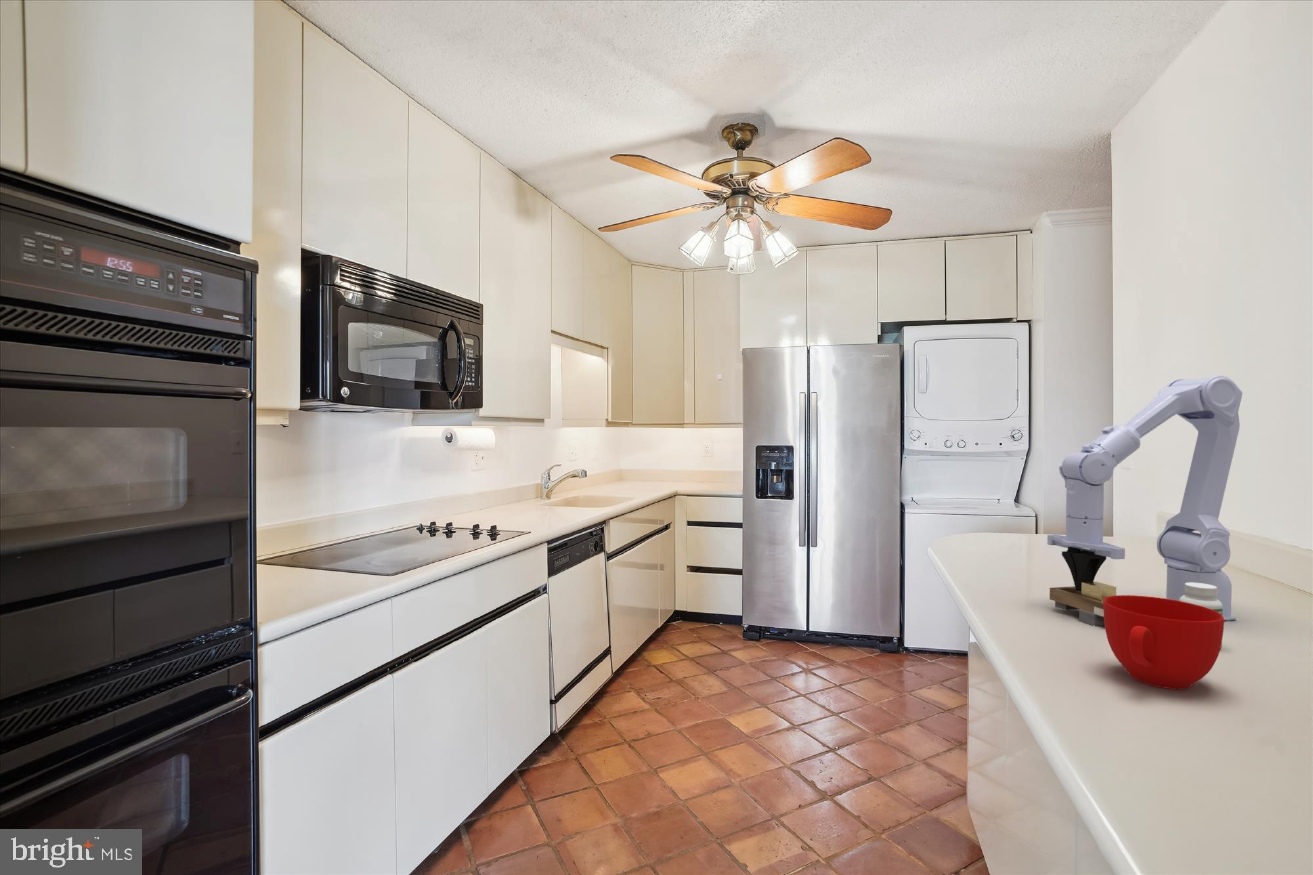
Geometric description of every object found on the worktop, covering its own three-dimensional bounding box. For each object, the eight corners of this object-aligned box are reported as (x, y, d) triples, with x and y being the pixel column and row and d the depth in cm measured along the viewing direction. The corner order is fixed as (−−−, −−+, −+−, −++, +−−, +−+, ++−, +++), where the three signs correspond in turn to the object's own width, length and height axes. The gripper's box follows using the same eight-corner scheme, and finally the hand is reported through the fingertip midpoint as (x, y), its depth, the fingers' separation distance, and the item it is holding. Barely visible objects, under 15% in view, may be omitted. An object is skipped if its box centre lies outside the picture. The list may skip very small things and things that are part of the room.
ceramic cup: (1076, 682, 86) (1077, 608, 86) (1119, 656, 96) (1121, 590, 96) (1198, 717, 76) (1200, 634, 76) (1233, 684, 86) (1235, 610, 86)
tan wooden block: (1095, 598, 117) (1096, 581, 117) (1115, 604, 113) (1116, 586, 113) (1081, 599, 116) (1081, 582, 116) (1101, 605, 112) (1101, 587, 112)
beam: (1077, 607, 123) (1077, 586, 122) (1166, 636, 106) (1166, 611, 106) (1047, 609, 121) (1047, 587, 121) (1132, 638, 104) (1132, 613, 104)
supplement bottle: (1185, 637, 106) (1186, 579, 105) (1227, 646, 101) (1228, 586, 101) (1172, 642, 103) (1173, 583, 103) (1215, 652, 98) (1216, 590, 98)
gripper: (1034, 512, 123) (1033, 582, 124) (1102, 523, 109) (1100, 602, 109) (1064, 511, 125) (1063, 580, 125) (1135, 522, 111) (1133, 600, 111)
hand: (1083, 590), depth 117 cm, fingers closed
